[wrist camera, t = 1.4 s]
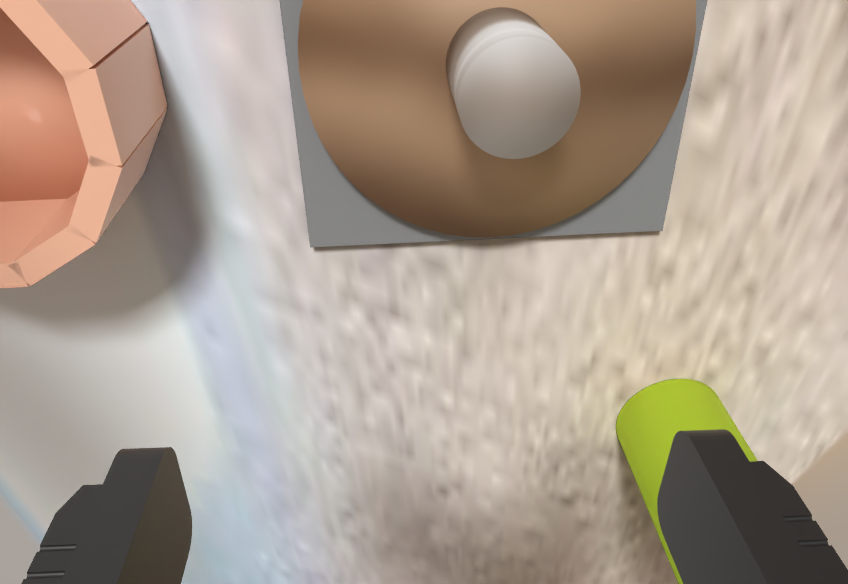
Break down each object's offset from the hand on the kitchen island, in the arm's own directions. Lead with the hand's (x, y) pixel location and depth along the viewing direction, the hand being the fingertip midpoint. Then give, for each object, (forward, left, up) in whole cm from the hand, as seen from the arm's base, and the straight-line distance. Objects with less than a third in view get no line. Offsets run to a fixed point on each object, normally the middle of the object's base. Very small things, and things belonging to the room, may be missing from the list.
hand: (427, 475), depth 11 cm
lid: (-2, +4, -19) cm, 20 cm away
